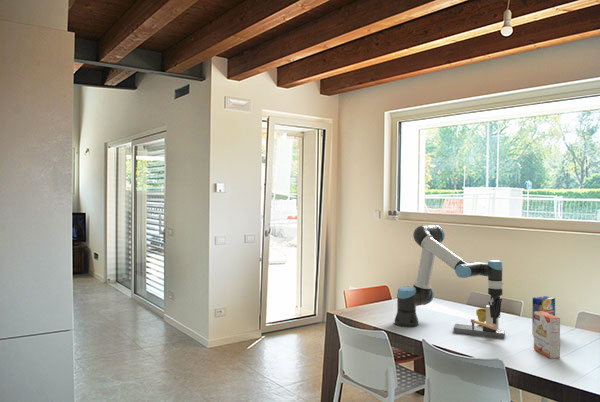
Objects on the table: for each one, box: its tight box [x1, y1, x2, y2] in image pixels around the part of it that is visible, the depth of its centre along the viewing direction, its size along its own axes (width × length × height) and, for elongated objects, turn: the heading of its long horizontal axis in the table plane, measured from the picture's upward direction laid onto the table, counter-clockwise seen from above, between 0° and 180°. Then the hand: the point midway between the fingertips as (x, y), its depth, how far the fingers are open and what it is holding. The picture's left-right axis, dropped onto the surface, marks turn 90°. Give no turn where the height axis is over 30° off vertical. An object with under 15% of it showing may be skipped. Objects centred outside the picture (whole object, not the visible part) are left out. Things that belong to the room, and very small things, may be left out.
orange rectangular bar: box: [470, 318, 497, 330], centre depth 272 cm, size 18×3×6 cm, turn 24°
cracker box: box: [533, 311, 561, 359], centre depth 244 cm, size 14×6×21 cm, turn 5°
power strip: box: [453, 323, 506, 340], centre depth 281 cm, size 28×10×6 cm, turn 64°
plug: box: [484, 304, 493, 325], centre depth 277 cm, size 6×8×14 cm
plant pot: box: [476, 308, 486, 327], centre depth 298 cm, size 10×10×10 cm
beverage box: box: [531, 295, 556, 336], centre depth 279 cm, size 7×11×22 cm, turn 116°
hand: (495, 329), depth 266 cm, fingers closed
